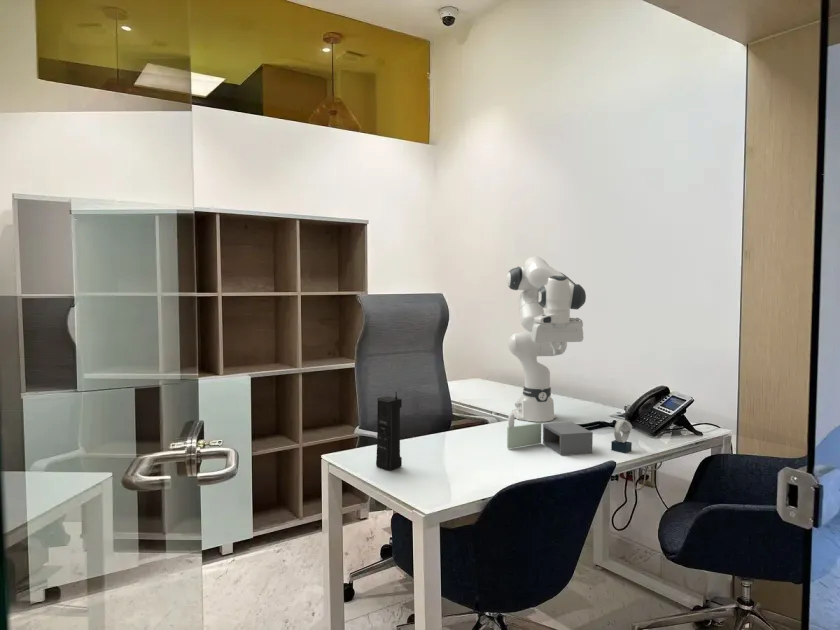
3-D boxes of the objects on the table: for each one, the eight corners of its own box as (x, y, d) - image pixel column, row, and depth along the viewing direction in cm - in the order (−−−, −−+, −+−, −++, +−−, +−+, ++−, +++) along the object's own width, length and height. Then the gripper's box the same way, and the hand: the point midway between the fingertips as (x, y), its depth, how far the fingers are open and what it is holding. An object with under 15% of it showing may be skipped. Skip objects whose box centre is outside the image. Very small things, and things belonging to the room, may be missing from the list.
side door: (538, 442, 205) (539, 410, 204) (542, 443, 203) (542, 411, 202) (506, 447, 198) (506, 414, 197) (509, 449, 196) (509, 415, 196)
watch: (633, 449, 196) (634, 419, 196) (624, 454, 191) (624, 423, 190) (618, 446, 200) (619, 417, 200) (608, 451, 195) (609, 420, 194)
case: (542, 443, 204) (542, 423, 204) (572, 441, 207) (572, 422, 206) (560, 455, 190) (561, 434, 189) (592, 453, 192) (592, 432, 192)
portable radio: (372, 465, 179) (372, 390, 178) (386, 461, 183) (386, 388, 182) (388, 471, 173) (388, 393, 172) (402, 467, 178) (402, 391, 176)
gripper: (578, 317, 214) (578, 352, 214) (530, 317, 210) (529, 353, 210) (586, 318, 208) (586, 354, 208) (536, 318, 203) (536, 355, 204)
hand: (557, 353), depth 209 cm, fingers closed
